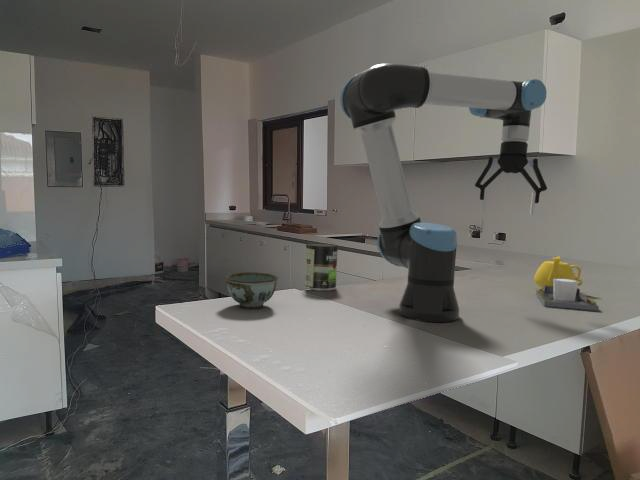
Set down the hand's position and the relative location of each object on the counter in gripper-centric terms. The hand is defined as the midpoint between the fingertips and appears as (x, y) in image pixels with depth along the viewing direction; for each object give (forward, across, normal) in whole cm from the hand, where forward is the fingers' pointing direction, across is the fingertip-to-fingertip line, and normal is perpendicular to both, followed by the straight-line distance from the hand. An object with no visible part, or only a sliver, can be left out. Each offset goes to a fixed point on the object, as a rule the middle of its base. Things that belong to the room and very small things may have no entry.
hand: (507, 212), depth 147 cm
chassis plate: (+26, -19, -5) cm, 33 cm away
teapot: (+26, -20, -25) cm, 41 cm away
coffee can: (+28, +55, +10) cm, 62 cm away
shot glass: (+26, -19, -5) cm, 33 cm away
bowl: (+29, +63, +43) cm, 82 cm away
